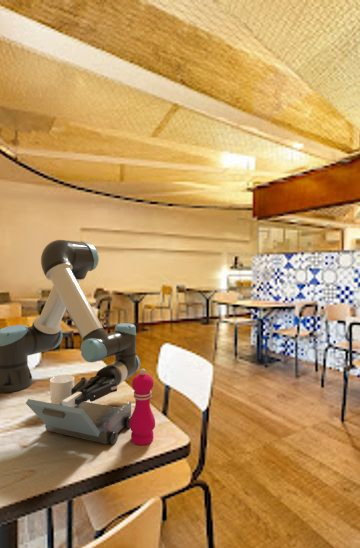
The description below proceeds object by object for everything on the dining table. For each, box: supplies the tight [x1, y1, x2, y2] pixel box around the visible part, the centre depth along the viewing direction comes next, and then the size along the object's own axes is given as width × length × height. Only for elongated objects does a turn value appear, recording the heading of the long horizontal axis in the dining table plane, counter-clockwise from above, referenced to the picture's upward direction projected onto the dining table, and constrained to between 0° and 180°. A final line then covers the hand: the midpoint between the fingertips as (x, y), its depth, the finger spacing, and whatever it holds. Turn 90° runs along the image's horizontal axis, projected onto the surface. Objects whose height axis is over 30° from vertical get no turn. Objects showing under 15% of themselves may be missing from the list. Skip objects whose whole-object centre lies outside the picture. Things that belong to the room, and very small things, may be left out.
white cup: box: [49, 374, 75, 404], centre depth 105 cm, size 8×8×10 cm
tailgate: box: [25, 398, 100, 437], centre depth 81 cm, size 17×2×12 cm
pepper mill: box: [129, 368, 156, 446], centre depth 87 cm, size 7×7×20 cm
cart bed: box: [44, 401, 132, 445], centre depth 93 cm, size 22×14×6 cm, turn 71°
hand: (64, 406), depth 81 cm, fingers closed
